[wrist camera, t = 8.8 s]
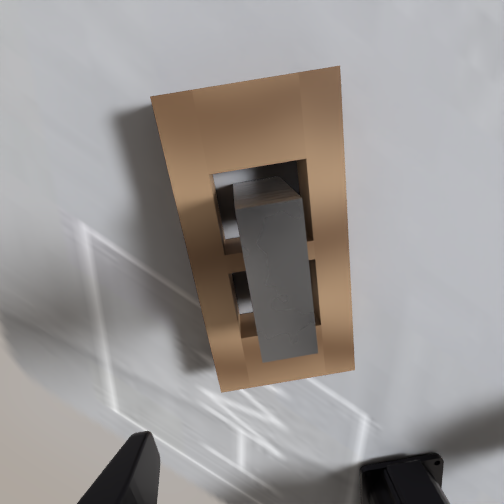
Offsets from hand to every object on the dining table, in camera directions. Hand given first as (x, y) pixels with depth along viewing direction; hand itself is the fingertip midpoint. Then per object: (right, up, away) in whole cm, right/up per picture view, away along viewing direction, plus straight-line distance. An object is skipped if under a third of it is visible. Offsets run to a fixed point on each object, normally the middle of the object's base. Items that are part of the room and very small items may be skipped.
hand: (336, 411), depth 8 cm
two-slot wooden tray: (-1, +4, +11) cm, 12 cm away
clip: (-1, +4, +11) cm, 12 cm away
